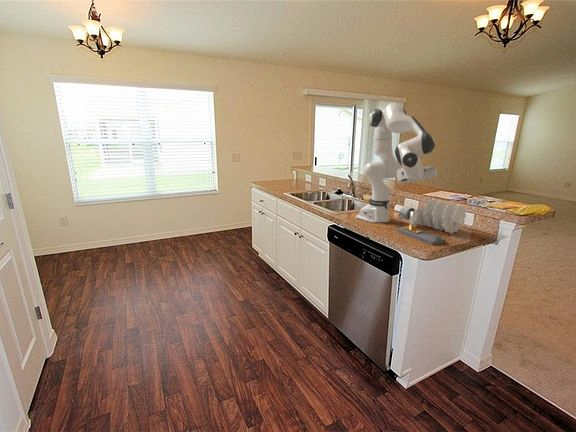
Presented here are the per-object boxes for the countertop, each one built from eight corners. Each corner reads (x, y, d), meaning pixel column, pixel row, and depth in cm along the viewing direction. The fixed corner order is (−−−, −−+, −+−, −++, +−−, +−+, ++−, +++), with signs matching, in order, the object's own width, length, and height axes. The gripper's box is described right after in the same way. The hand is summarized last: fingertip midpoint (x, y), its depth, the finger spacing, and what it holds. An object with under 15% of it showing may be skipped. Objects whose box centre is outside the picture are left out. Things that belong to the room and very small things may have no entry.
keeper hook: (431, 238, 157) (432, 235, 157) (435, 237, 158) (436, 234, 158) (437, 240, 154) (437, 237, 154) (441, 239, 155) (441, 236, 155)
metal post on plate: (402, 228, 174) (404, 210, 172) (409, 227, 176) (411, 209, 174) (416, 233, 165) (419, 214, 162) (423, 232, 167) (426, 213, 164)
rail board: (397, 231, 175) (397, 228, 175) (409, 229, 179) (410, 226, 179) (432, 245, 153) (432, 241, 153) (445, 242, 157) (446, 239, 157)
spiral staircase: (425, 229, 192) (463, 238, 171) (409, 221, 183) (447, 230, 162) (434, 203, 192) (474, 209, 171) (419, 194, 183) (459, 199, 162)
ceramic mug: (406, 215, 211) (407, 205, 209) (415, 218, 204) (416, 207, 202) (394, 217, 207) (395, 206, 205) (403, 220, 200) (404, 209, 198)
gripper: (435, 160, 149) (438, 170, 161) (394, 170, 159) (399, 179, 171) (437, 171, 147) (440, 181, 159) (395, 181, 157) (400, 189, 169)
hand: (418, 180), depth 165 cm, fingers open, 8 cm apart
